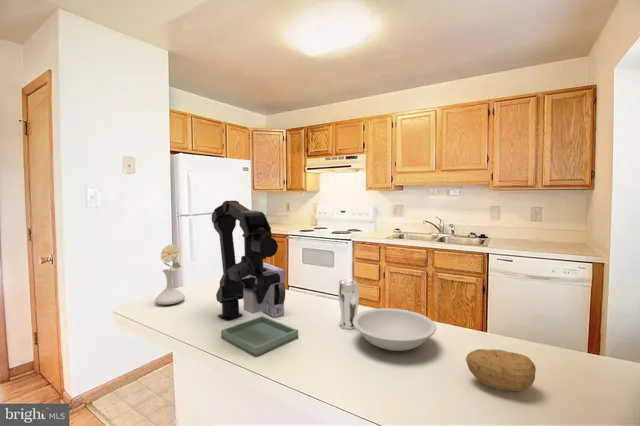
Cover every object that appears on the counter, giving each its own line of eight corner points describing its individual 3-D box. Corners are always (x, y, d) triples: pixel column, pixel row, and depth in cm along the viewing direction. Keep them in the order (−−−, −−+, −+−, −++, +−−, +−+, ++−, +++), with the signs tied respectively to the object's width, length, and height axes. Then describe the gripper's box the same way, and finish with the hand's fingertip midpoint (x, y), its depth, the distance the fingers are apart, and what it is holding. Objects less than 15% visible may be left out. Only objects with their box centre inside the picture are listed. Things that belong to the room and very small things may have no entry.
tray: (221, 338, 100) (221, 330, 100) (262, 322, 112) (262, 315, 112) (256, 357, 88) (255, 348, 88) (298, 338, 100) (298, 330, 100)
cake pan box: (286, 316, 118) (286, 268, 118) (274, 319, 115) (274, 270, 114) (262, 302, 134) (261, 260, 133) (251, 305, 131) (250, 262, 130)
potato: (464, 369, 81) (465, 338, 81) (530, 381, 76) (531, 348, 75) (466, 391, 72) (467, 357, 72) (540, 406, 67) (542, 369, 66)
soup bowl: (382, 321, 113) (382, 303, 112) (450, 343, 96) (450, 321, 95) (336, 344, 96) (335, 322, 95) (408, 375, 79) (408, 349, 78)
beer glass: (358, 330, 105) (358, 285, 104) (337, 329, 107) (337, 284, 106) (360, 322, 112) (359, 279, 111) (340, 320, 113) (339, 278, 113)
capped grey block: (243, 309, 101) (242, 287, 101) (256, 305, 105) (256, 283, 104) (253, 314, 98) (252, 290, 97) (266, 309, 101) (266, 286, 101)
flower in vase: (149, 303, 133) (147, 244, 132) (175, 296, 143) (173, 240, 141) (167, 310, 126) (164, 246, 125) (193, 301, 135) (191, 242, 134)
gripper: (214, 252, 101) (216, 301, 101) (250, 260, 88) (251, 316, 89) (244, 248, 109) (245, 293, 110) (281, 254, 96) (281, 305, 97)
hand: (254, 301), depth 101 cm, fingers closed on capped grey block, 5 cm apart
